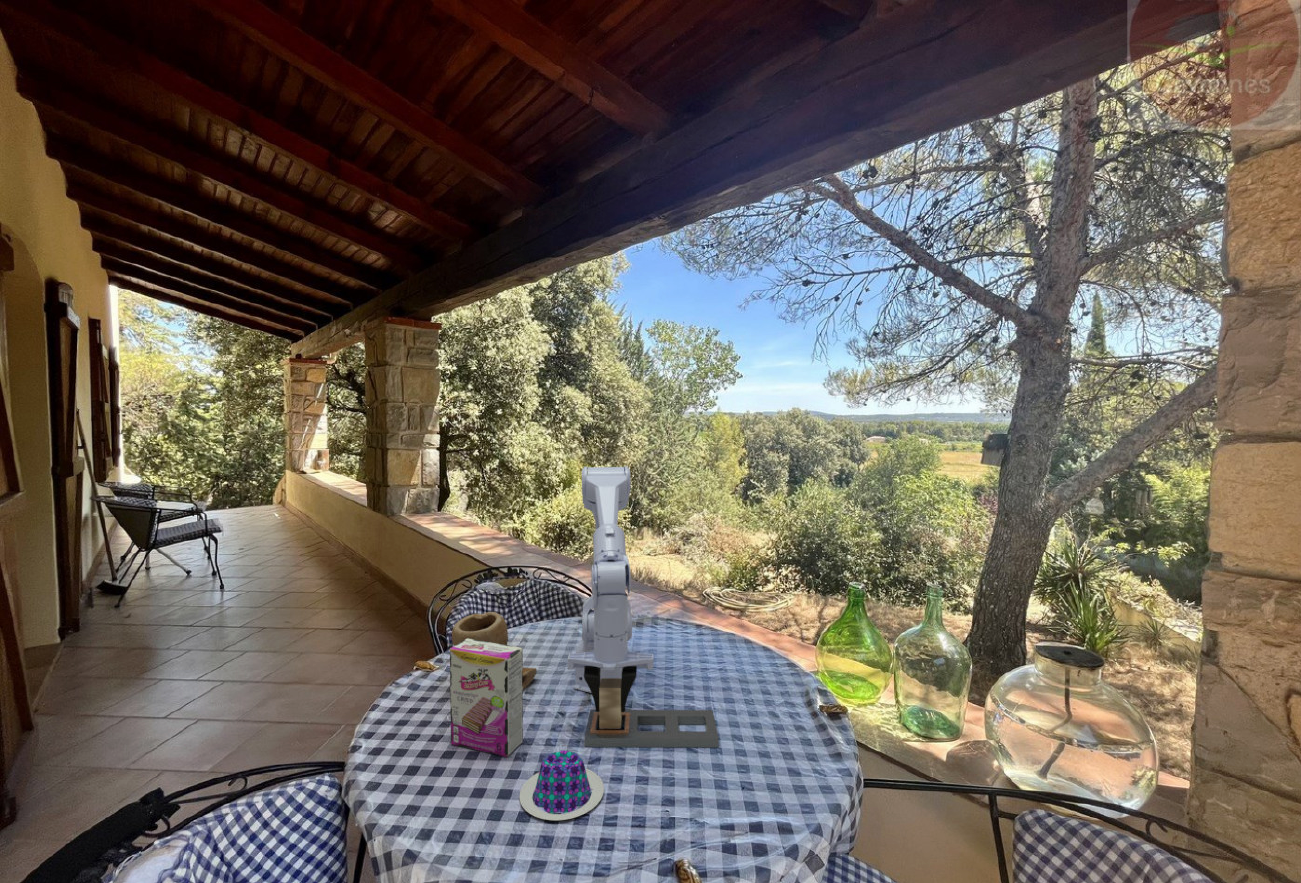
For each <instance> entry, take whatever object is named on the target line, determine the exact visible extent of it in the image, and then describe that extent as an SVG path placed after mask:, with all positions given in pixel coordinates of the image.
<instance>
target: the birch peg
mask: <svg viewBox="0 0 1301 883" xmlns="http://www.w3.org/2000/svg"><path fill="white" fill-rule="evenodd" d="M621 699H622V678H601V682H600V687H599V724H598V727H599V729H598V730H606V729H607V730H622V729H621V728H622V724H621V720H622V712H621Z"/></svg>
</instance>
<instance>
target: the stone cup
mask: <svg viewBox="0 0 1301 883" xmlns="http://www.w3.org/2000/svg"><path fill="white" fill-rule="evenodd" d="M467 638H468V639H474V640H479V641H485V642H490V643H496V644H502V645H508V640H509V632H508V625H507V623H506V620H505V618H504V617H503V616H502V615H501V614H499V613H497V612H495V611H487V612H484V613H473V614H470V615H468V616H467V615H466V616H465V617H463V618H461V619H460V620H459V621H457V622H456V623H455V624H454V626H453V628H452V629H451V642H452V645H453V646H455V645H457V644H459V643H460V642H462V641H464V640H465V639H467ZM522 671H523V672H522V673H523V690H525V688H527V687H528V686H529V685H530V684H531V682H532V681H534V678H535V677H536V675H537V673H538V669H537V668H536V667H523V670H522Z"/></svg>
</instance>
